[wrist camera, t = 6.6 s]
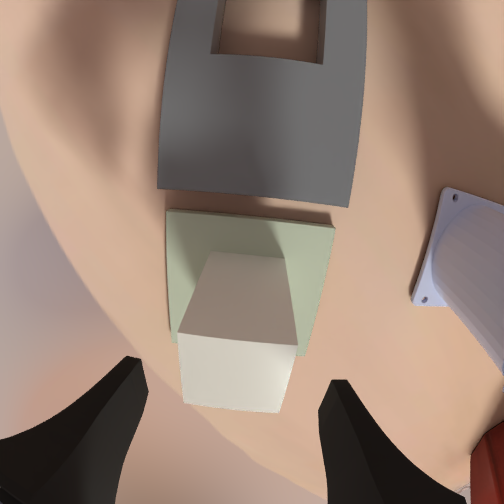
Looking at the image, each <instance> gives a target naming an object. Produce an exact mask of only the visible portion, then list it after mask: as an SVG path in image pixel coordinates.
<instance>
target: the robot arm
mask: <svg viewBox="0 0 504 504" xmlns="http://www.w3.org/2000/svg"><path fill="white" fill-rule="evenodd" d="M454 194H455V198H454V200H453V195H454ZM424 297H425V298H424ZM423 298H424V299H423ZM422 299H423V300H422ZM411 302H412V303H413V304H414V305H416V306H449V307H450V308H451V309H452V310H453V311H454V313H455V314H456V315H457V316H458V317H459V318H460V320H461V321H462V322H463V323H464V324H465V326H466V327H467V328H468V329H469V331H470V332H471V333H472V334H473V336H474V337H475V338H476V339H477V341H478V342H479V343H480V344H481V346H482V347H483V348H484V350H485V351H486V352H487V354H488V355H489V356H490V358H491V359H492V360H493V362H494V363H495V364H496V366H497V367H498V369H499V370H500V371H501V373H502V374H503V375H504V206H503V205H501V204H498V203H495V202H492V201H490V200H487V199H484V198H481V197H478V196H475V195H472V194H469V193H466V192H463V191H460V190H456V189H453V188H450V187H445V188H444V189H443V190H442V192H441V196H440V201H439V205H438V210H437V214H436V218H435V222H434V226H433V230H432V234H431V237H430V241H429V244H428V248H427V251H426V255H425V258H424V261H423V264H422V267H421V270H420V273H419V276H418V279H417V282H416V285H415V288H414V291H413V293H412V296H411ZM502 391H503V392H504V387H503V390H502ZM148 392H149V391H148V387H147V383H146V379H145V375H144V370H143V366H142V361H141V359H139V358H134V357H130V356H126V357H125V358H123V359H122V360H121V361H120V362H119V363H118V364H117V365H116V366H115V367H114V368H113V369H112V370H111V371H110V372H109V373H108V374H106V376H104V377H103V378H102V379H101V380H100V381H99V382H98V383H97V384H95V385H94V386H93V387H92V388H91V389H90V390H89V391H87V392H86V393H85V394H84V395H82V396H81V397H80V398H79V399H77V400H76V401H75V402H74V403H72V404H71V405H70V406H68V407H67V408H66V409H64V410H62V411H61V412H60V413H58V414H57V415H55V416H53V417H52V418H50V419H48V420H46V421H45V422H43V423H41V424H39V425H37V426H36V427H33V428H31V429H29V430H26V431H24V432H21V433H19V434H17V435H14V436H11V437H9V438H5V439H1V440H0V504H115V498H116V493H117V488H118V483H119V478H120V474H121V470H122V466H123V463H124V460H125V456H126V454H127V451H128V449H129V446H130V444H131V441H132V439H133V437H134V434H135V432H136V429H137V427H138V424H139V422H140V419H141V417H142V414H143V411H144V407H145V404H146V400H147V396H148ZM318 418H319V435H320V441H321V447H322V453H323V459H324V465H325V472H326V478H327V491H328V504H467V503H466V500H465V497H463V496H461V495H459V494H457V493H455V492H453V491H451V490H449V489H448V488H446V487H444V486H443V485H441V484H439V483H438V482H436V481H435V480H433V479H432V478H431V477H429V476H428V475H427V474H425V473H424V472H423V471H422V470H420V469H419V468H418V467H417V466H415V465H414V464H413V463H412V462H411V461H410V460H409V459H408V458H407V457H406V456H405V455H404V454H403V453H402V452H401V451H400V450H399V449H398V448H397V447H396V446H395V445H394V444H393V443H392V442H391V440H390V439H389V438H388V437H387V436H386V434H385V433H384V432H383V431H382V429H381V428H380V427H379V426H378V424H377V423H376V422H375V420H374V419H373V417H372V416H371V415H370V413H369V412H368V410H367V409H366V408H365V406H364V405H363V403H362V402H361V400H360V399H359V397H358V396H357V394H356V393H355V391H354V390H353V388H352V386H351V385H350V383H349V382H348V381H347V380H331V382H330V385H329V387H328V390H327V392H326V394H325V396H324V399H323V401H322V403H321V405H320V407H319V410H318Z"/></svg>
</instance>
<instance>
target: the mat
mask: <svg viewBox="0 0 504 504" xmlns="http://www.w3.org/2000/svg"><path fill="white" fill-rule="evenodd" d="M335 229H336V228H335V227H334V226H333V225H328V224H320V223H312V222H304V221H295V220H286V219H277V218H268V217H258V216H248V215H238V214H228V213H217V212H205V211H193V210H181V209H168V210H167V211H166V252H167V280H168V298H169V313H170V326H171V338H172V343H178V339H177V331H178V329H179V326H180V324H181V321H182V319H183V316H184V314H185V311H186V309H187V306H188V304H189V302H190V299H191V297H192V294H193V292H194V289H195V287H196V285H197V282H198V280H199V278H200V275H201V273H202V270H203V268H204V266H205V263H206V261H207V259H208V256H209V254H210V252H211V251H217V252H227V253H237V254H246V255H256V256H265V257H275V258H285V263H286V269H287V275H288V281H289V287H290V294H291V300H292V306H293V313H294V320H295V326H296V333H297V340H298V348H297V352H296V356H305V354H306V350H307V347H308V343H309V340H310V336H311V332H312V329H313V325H314V321H315V317H316V314H317V310H318V306H319V302H320V298H321V293H322V289H323V285H324V281H325V276H326V272H327V268H328V263H329V258H330V254H331V249H332V244H333V239H334V234H335Z"/></svg>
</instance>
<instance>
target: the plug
mask: <svg viewBox="0 0 504 504" xmlns="http://www.w3.org/2000/svg"><path fill="white" fill-rule="evenodd" d="M177 339H178V351H179V363H180V373H181V383H182V392H183V400H184V403H188V404H194V405H200V406H207V407H215V408H223V409H231V410H241V411H253V412H268V413H279V411H280V408H281V405H282V402H283V398H284V395H285V391H286V388H287V385H288V381H289V378H290V374H291V370H292V367H293V363H294V360H295V356H296V352H297V348H298V340H297V333H296V326H295V320H294V313H293V306H292V300H291V294H290V287H289V281H288V275H287V269H286V263H285V258H275V257H265V256H256V255H246V254H237V253H227V252H217V251H211V252H210V254H209V256H208V259H207V261H206V263H205V266H204V268H203V270H202V273H201V275H200V278H199V280H198V282H197V285H196V287H195V289H194V292H193V294H192V297H191V299H190V302H189V304H188V306H187V309H186V311H185V314H184V316H183V319H182V321H181V324H180V326H179V329H178V331H177Z"/></svg>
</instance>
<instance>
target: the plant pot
mask: <svg viewBox="0 0 504 504" xmlns="http://www.w3.org/2000/svg"><path fill="white" fill-rule="evenodd" d="M470 489H471V504H504V421H503V422H502V423H500V424H499V425H498V426H496V427H494V428H493V429H491V430H490V431H488V432H487V433H486V434H485V435H484V436H483V438H482V439H481V441H480V442H479V444H478V446H477V447H476V449H475V450H474V452H473V453H472V455H471V461H470Z"/></svg>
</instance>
